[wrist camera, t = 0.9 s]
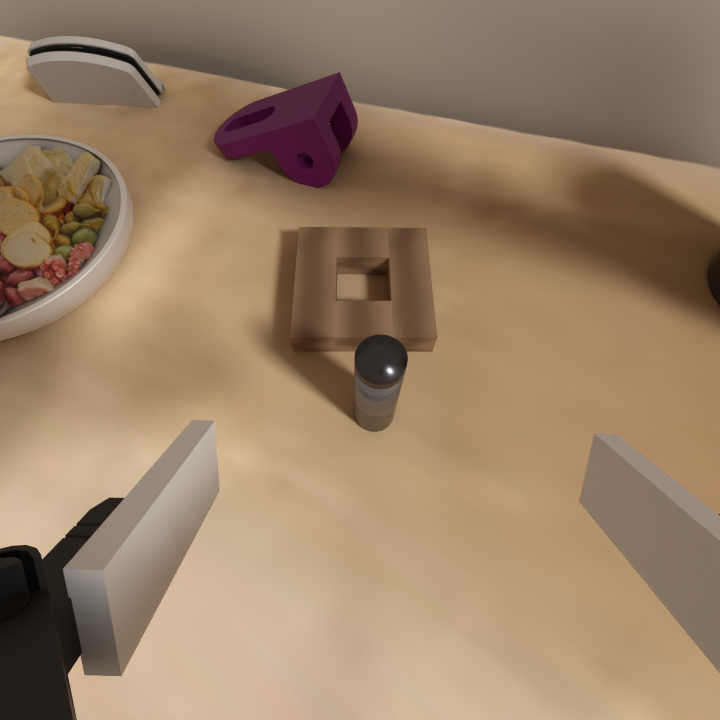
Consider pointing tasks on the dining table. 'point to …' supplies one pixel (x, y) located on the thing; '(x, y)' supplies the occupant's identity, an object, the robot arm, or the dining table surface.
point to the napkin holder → (92, 72)
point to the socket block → (362, 318)
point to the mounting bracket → (295, 130)
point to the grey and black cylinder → (378, 380)
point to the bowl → (56, 228)
